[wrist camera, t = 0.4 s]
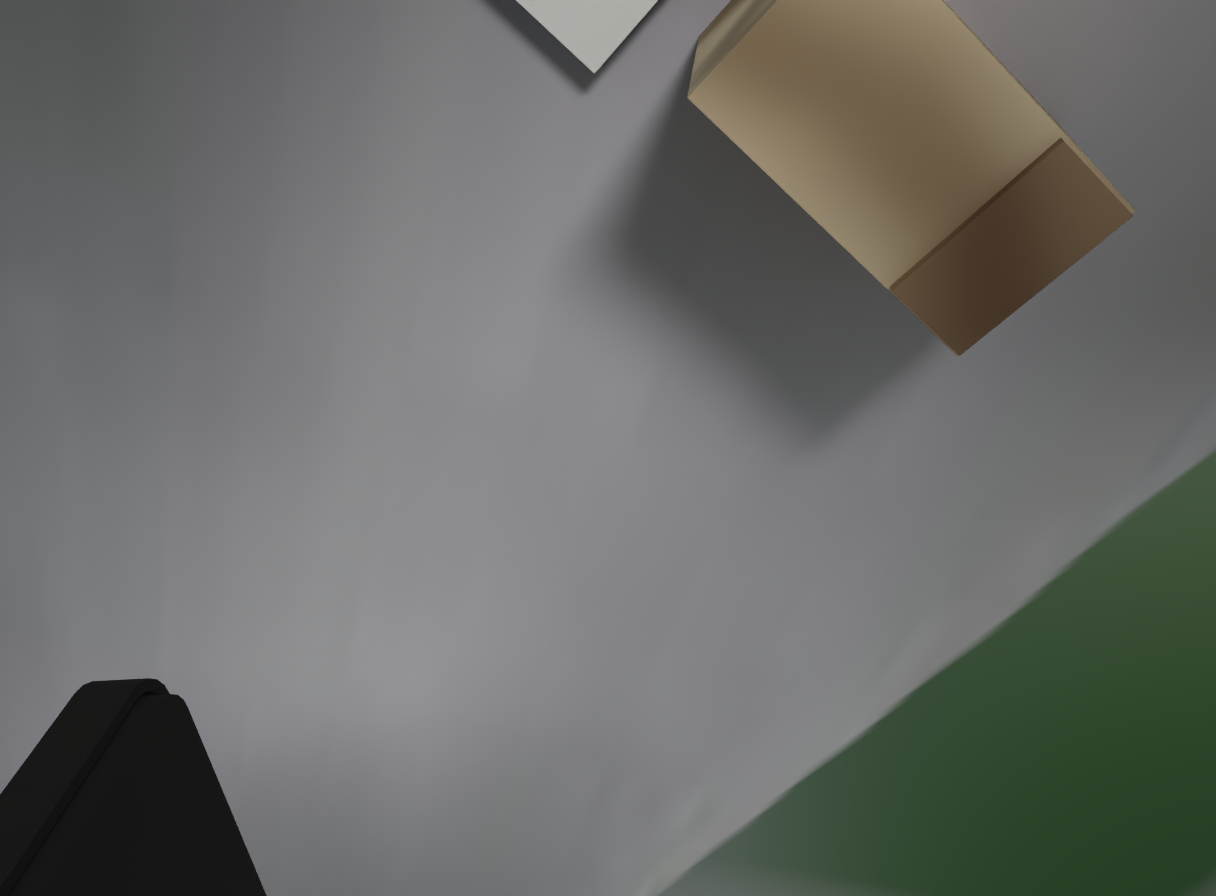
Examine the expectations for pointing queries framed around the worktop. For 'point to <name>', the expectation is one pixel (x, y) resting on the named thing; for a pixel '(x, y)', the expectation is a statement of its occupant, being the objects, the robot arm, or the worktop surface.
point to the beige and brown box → (907, 150)
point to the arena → (589, 24)
